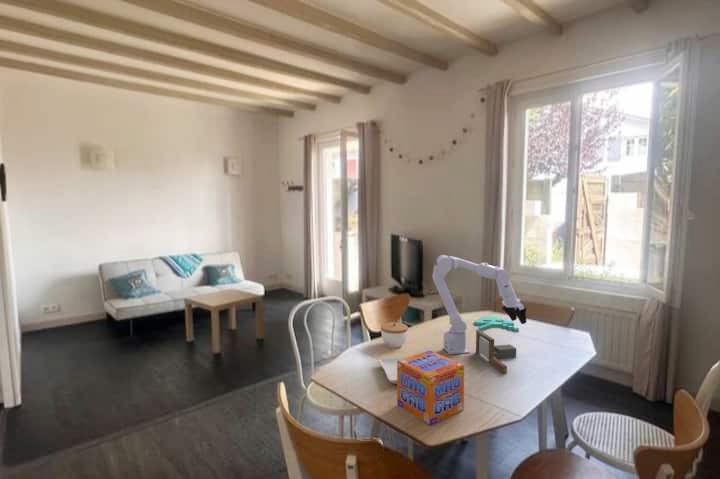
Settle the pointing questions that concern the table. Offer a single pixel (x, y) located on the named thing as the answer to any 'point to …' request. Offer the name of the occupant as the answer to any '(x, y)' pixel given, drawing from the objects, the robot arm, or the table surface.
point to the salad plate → (390, 367)
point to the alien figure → (495, 323)
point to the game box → (430, 386)
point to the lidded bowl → (394, 334)
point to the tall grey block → (504, 351)
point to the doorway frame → (490, 351)
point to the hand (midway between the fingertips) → (519, 321)
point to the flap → (484, 347)
